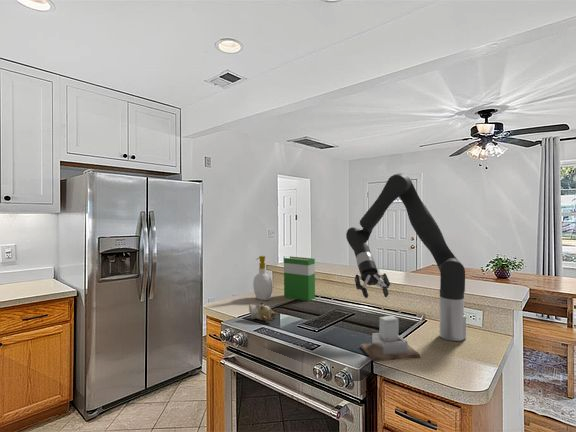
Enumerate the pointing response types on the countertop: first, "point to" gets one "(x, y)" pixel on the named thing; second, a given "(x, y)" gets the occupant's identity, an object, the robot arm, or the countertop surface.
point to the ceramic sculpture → (262, 312)
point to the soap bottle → (262, 282)
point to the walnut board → (377, 356)
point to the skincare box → (388, 328)
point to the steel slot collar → (389, 345)
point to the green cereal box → (299, 278)
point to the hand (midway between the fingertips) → (376, 296)
